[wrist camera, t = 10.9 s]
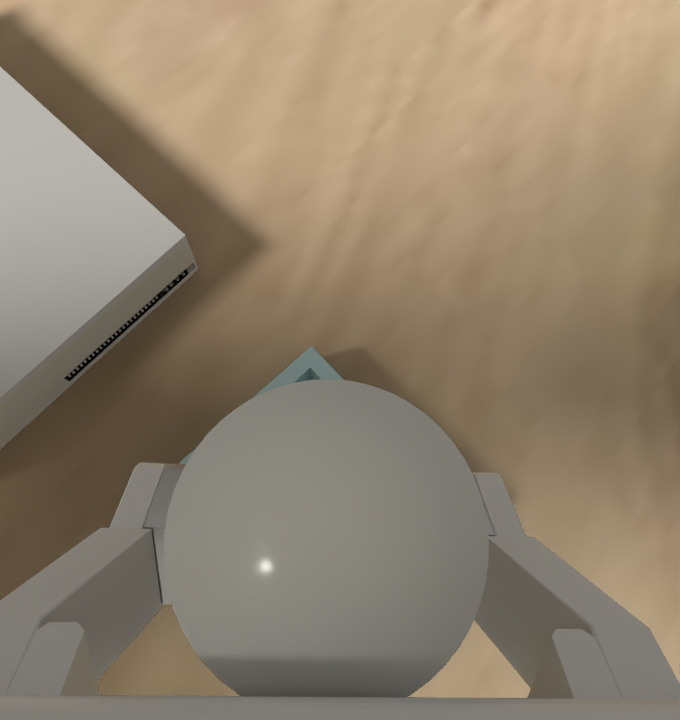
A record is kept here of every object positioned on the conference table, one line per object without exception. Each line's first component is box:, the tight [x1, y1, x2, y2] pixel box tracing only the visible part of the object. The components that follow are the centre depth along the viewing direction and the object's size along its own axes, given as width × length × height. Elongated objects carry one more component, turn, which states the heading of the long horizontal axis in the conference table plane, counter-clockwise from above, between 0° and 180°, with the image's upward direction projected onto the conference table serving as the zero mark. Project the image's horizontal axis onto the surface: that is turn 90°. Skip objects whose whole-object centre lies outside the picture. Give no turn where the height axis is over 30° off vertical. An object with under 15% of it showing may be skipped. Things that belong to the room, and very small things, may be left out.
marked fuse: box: [163, 379, 489, 697], centre depth 12 cm, size 4×4×10 cm
